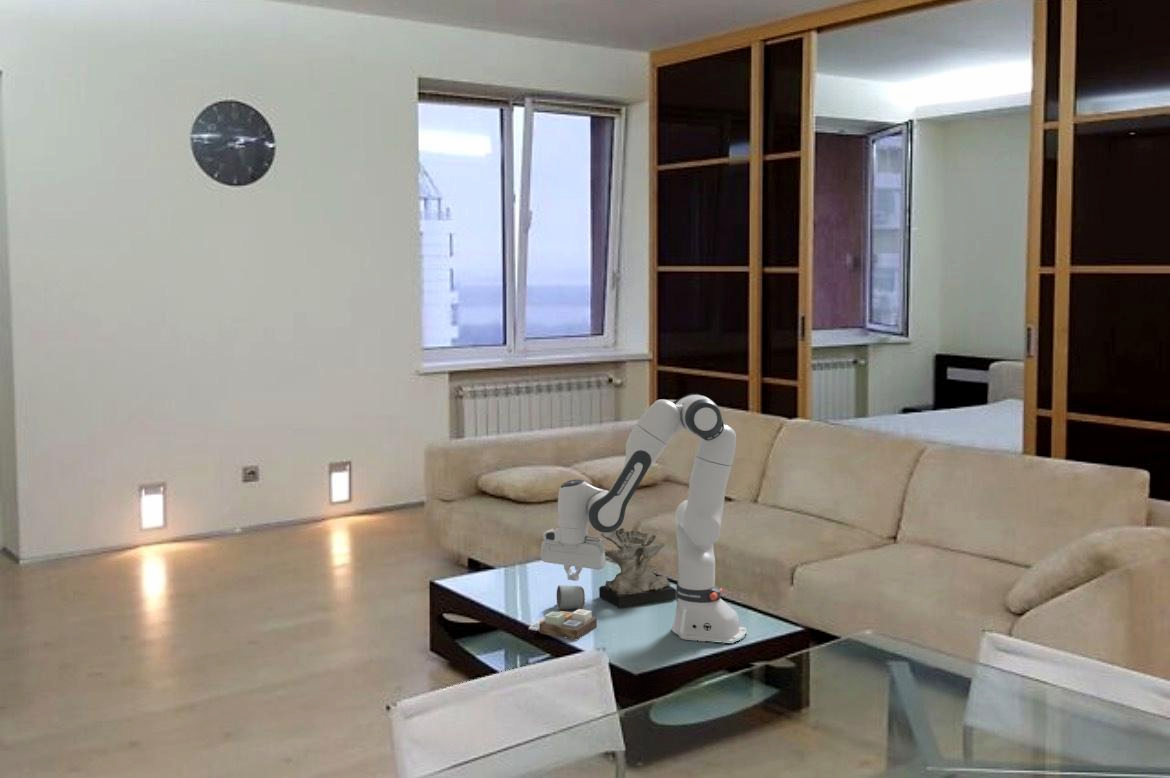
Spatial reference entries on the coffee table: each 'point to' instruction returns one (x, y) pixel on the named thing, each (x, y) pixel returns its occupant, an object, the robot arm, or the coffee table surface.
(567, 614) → the key terracotta
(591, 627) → the keypad base
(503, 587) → the coffee table surface
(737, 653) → the coffee table surface
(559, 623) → the key sage
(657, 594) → the coral
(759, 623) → the coffee table surface
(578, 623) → the key slate
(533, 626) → the card
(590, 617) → the key ivory
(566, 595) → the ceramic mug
